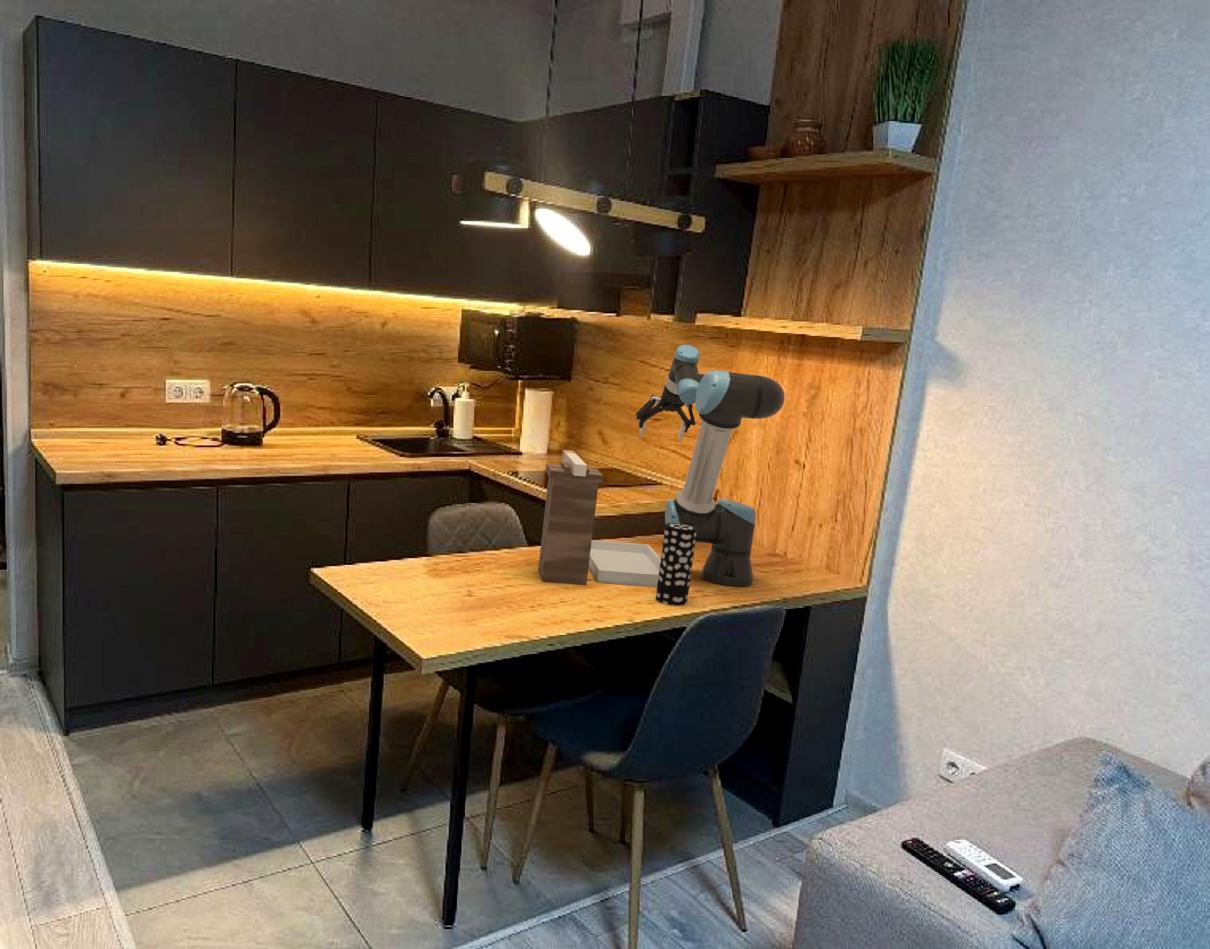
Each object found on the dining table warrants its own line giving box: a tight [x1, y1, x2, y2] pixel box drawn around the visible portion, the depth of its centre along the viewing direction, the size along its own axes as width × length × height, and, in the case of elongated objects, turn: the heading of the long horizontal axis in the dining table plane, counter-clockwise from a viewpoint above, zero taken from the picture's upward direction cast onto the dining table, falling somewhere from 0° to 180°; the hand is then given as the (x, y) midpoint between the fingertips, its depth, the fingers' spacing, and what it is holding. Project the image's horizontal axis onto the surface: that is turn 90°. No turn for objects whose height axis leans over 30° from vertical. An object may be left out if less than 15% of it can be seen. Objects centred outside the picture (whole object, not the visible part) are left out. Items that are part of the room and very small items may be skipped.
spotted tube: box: [655, 523, 697, 607], centre depth 241 cm, size 8×8×20 cm
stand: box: [537, 460, 604, 586], centre depth 251 cm, size 13×14×31 cm
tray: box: [588, 539, 661, 588], centre depth 272 cm, size 38×22×4 cm, turn 9°
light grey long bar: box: [561, 449, 588, 477], centre depth 251 cm, size 28×3×3 cm, turn 9°
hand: (660, 436), depth 312 cm, fingers open, 13 cm apart
